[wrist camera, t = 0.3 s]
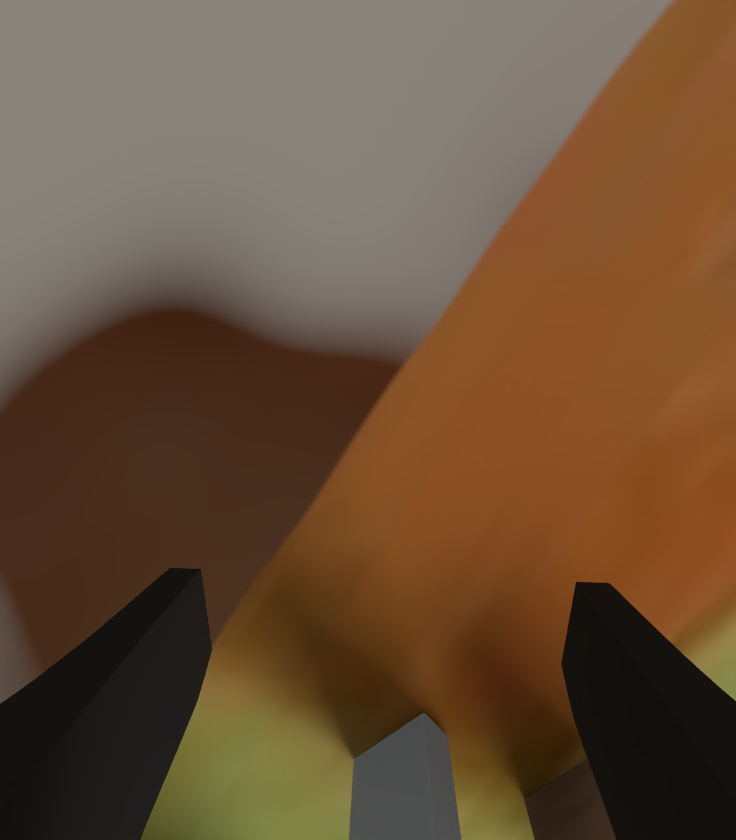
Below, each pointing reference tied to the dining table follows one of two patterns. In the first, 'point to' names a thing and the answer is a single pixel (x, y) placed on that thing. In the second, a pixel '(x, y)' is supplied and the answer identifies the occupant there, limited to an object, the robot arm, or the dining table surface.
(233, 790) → the dining table surface
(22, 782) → the robot arm
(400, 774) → the domino
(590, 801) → the domino
